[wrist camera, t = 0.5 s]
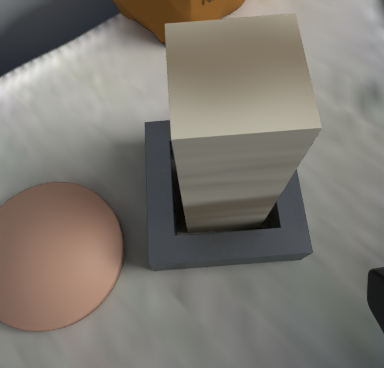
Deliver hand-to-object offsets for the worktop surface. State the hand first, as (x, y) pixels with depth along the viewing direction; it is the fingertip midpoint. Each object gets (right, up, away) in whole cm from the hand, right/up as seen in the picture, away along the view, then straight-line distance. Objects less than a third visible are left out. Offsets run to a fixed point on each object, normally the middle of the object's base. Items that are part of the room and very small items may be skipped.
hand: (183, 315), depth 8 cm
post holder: (+2, +2, +15) cm, 15 cm away
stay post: (+2, +2, +15) cm, 15 cm away
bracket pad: (-9, -1, +14) cm, 16 cm away
